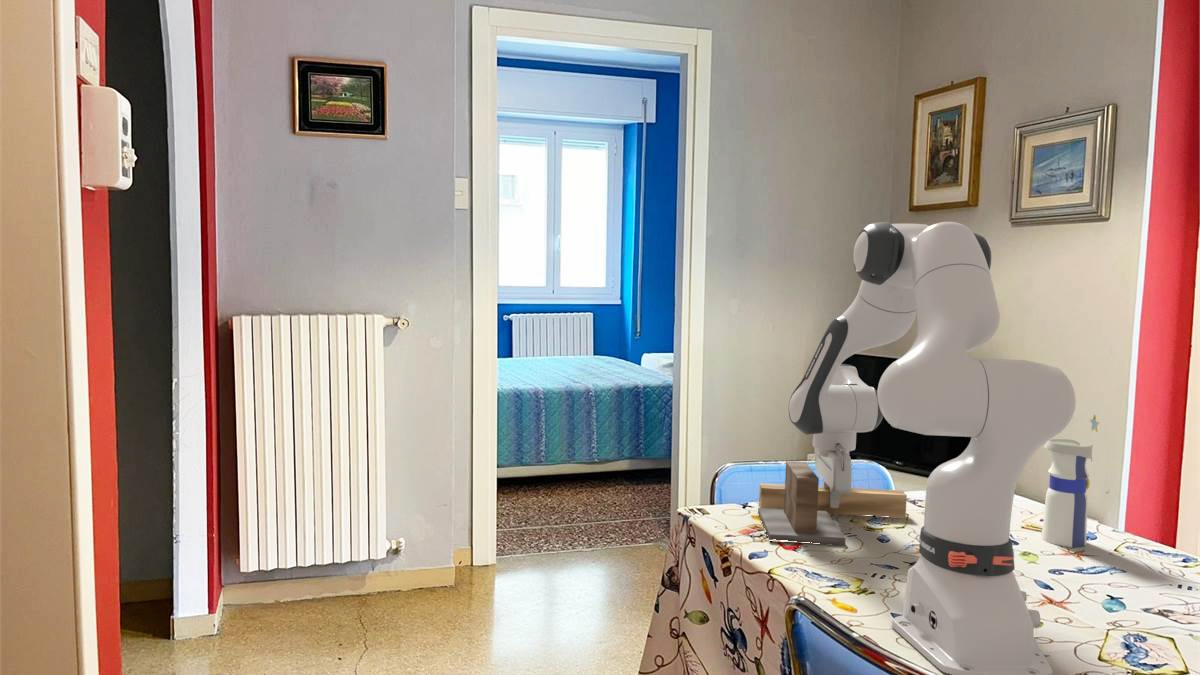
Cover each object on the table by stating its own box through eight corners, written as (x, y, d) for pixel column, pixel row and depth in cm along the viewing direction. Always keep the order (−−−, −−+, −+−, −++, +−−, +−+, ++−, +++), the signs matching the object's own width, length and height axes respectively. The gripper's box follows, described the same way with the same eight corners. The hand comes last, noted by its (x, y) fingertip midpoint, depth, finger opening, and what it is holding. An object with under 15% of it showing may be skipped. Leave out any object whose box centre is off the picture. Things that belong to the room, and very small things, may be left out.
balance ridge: (845, 545, 157) (848, 482, 156) (769, 542, 157) (771, 479, 157) (825, 518, 174) (828, 461, 174) (757, 514, 175) (760, 458, 174)
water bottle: (1063, 532, 169) (1071, 409, 167) (1098, 545, 160) (1108, 416, 159) (1029, 534, 167) (1037, 410, 165) (1063, 548, 158) (1072, 417, 156)
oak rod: (905, 518, 176) (906, 495, 175) (760, 511, 179) (761, 488, 178) (900, 513, 180) (901, 490, 179) (758, 506, 183) (759, 483, 182)
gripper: (861, 450, 168) (857, 518, 169) (839, 431, 188) (836, 492, 189) (829, 449, 168) (825, 516, 169) (810, 430, 188) (807, 491, 189)
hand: (831, 503), depth 179 cm, fingers closed on oak rod, 4 cm apart
